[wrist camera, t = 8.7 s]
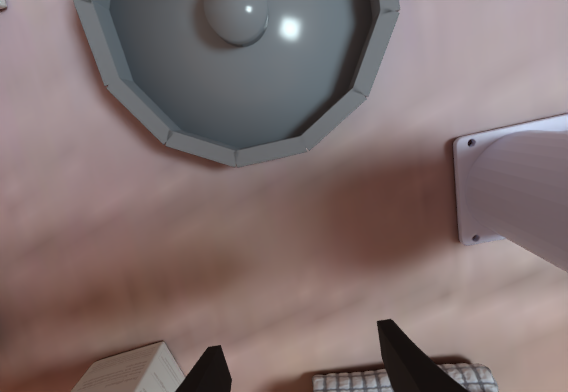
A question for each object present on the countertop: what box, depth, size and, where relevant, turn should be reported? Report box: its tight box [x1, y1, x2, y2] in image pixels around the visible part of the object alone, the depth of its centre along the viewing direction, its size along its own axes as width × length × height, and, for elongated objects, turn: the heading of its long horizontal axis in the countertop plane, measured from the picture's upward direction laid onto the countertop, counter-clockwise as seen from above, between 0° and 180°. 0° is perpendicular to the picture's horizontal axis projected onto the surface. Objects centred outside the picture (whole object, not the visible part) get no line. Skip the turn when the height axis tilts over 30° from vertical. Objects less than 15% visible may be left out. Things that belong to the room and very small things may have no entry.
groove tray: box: [73, 0, 400, 168], centre depth 16 cm, size 17×17×2 cm
